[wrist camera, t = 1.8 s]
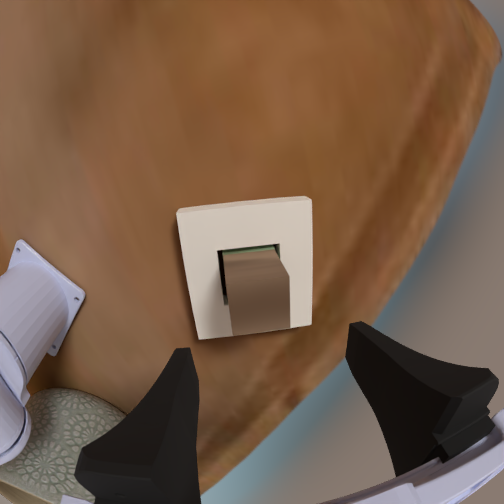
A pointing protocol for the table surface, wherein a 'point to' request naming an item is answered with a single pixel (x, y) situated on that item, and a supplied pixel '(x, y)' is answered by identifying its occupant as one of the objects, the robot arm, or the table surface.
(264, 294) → the post
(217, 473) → the table surface
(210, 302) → the sleeve block
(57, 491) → the planter
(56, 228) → the table surface
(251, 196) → the table surface
